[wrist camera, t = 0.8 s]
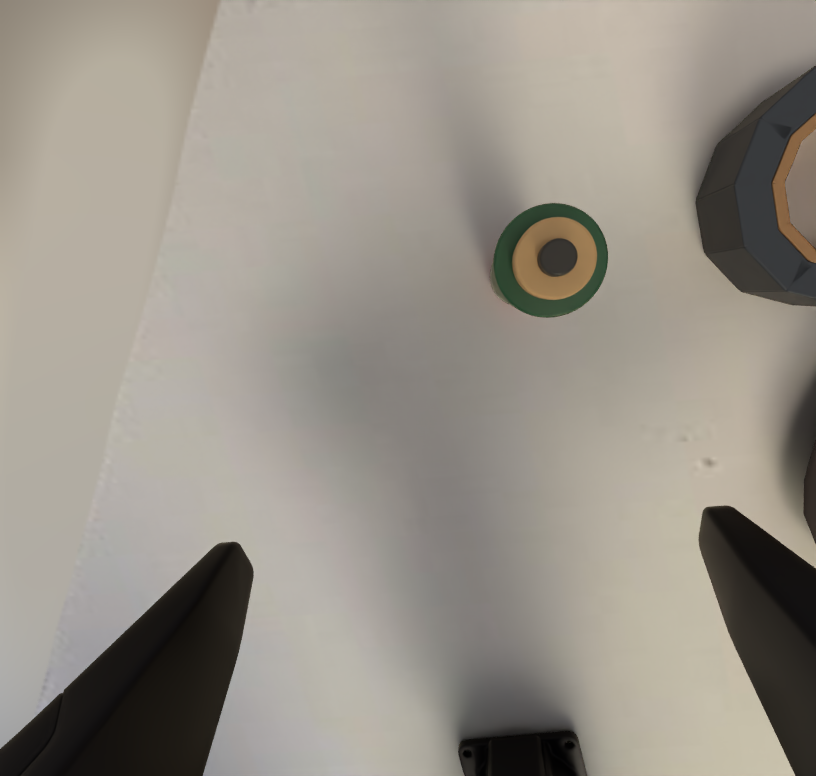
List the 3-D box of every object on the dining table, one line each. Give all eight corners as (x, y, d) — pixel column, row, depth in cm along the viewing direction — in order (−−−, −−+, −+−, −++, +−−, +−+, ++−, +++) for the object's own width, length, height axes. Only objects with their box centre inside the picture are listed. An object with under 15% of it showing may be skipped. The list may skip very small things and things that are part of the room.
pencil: (550, 296, 23) (640, 305, 9) (496, 310, 23) (507, 338, 10) (539, 242, 23) (615, 168, 9) (484, 257, 23) (477, 209, 10)
